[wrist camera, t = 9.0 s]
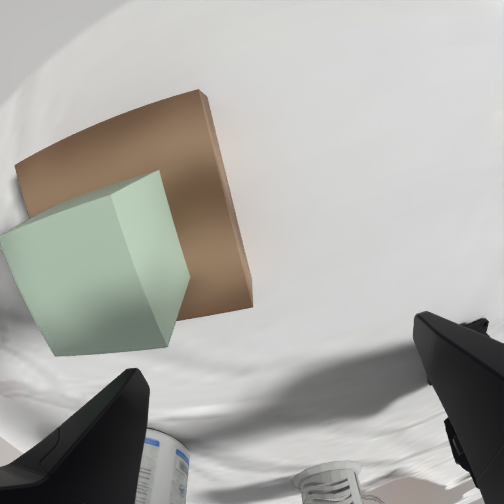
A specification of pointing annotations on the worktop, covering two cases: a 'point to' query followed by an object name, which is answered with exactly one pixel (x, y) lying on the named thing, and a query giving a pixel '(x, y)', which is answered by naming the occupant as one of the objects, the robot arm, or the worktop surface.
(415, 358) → the worktop surface
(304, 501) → the french press
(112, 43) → the worktop surface
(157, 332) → the sage cube
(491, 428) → the robot arm
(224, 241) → the walnut block
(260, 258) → the worktop surface
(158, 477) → the supplement tub
